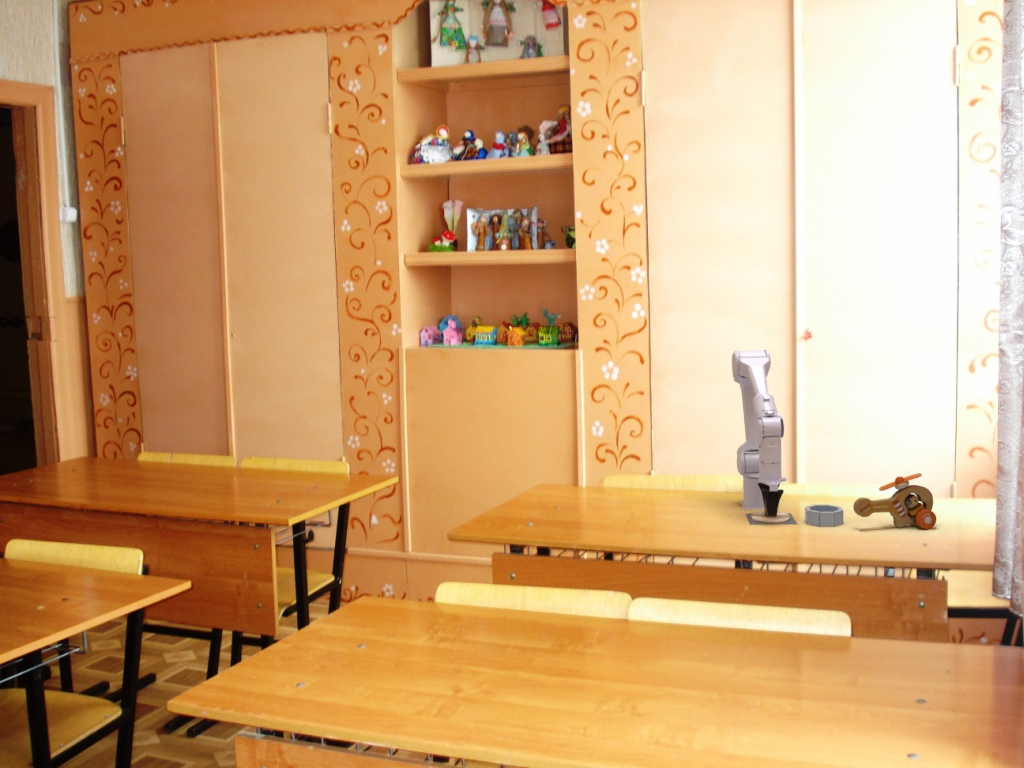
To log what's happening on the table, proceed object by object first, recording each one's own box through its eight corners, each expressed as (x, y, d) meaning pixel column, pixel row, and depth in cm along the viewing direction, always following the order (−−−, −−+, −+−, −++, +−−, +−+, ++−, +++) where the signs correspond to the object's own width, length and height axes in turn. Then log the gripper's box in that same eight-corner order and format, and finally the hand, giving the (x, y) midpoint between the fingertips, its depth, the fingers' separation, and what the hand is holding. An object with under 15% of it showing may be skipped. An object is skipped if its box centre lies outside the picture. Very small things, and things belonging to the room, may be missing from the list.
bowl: (803, 519, 262) (803, 504, 262) (838, 519, 261) (838, 504, 260) (809, 528, 253) (808, 512, 253) (845, 527, 252) (845, 512, 251)
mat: (745, 514, 269) (745, 513, 269) (790, 514, 268) (790, 513, 268) (750, 525, 258) (750, 524, 257) (797, 525, 256) (797, 524, 256)
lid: (749, 514, 268) (749, 494, 268) (787, 514, 267) (787, 494, 266) (753, 523, 258) (753, 503, 258) (793, 523, 257) (792, 502, 256)
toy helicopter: (940, 528, 248) (941, 474, 246) (862, 534, 245) (862, 480, 244) (922, 521, 256) (923, 468, 255) (847, 526, 253) (847, 473, 252)
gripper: (789, 466, 253) (790, 518, 255) (781, 456, 268) (782, 505, 269) (761, 467, 254) (762, 519, 256) (755, 457, 269) (755, 506, 270)
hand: (770, 512), depth 262 cm, fingers open, 6 cm apart
